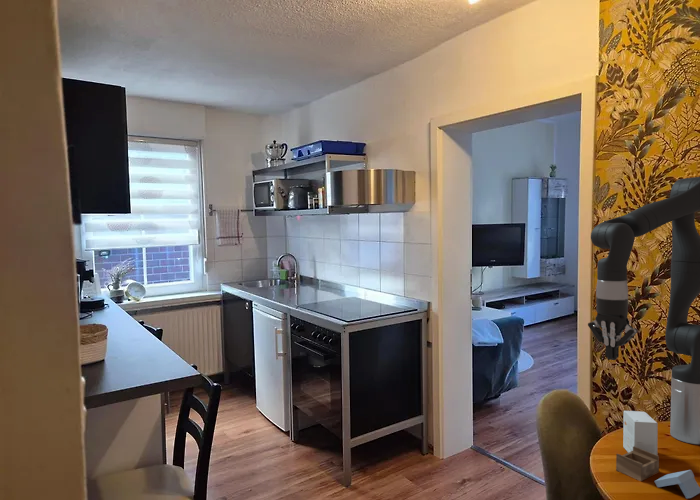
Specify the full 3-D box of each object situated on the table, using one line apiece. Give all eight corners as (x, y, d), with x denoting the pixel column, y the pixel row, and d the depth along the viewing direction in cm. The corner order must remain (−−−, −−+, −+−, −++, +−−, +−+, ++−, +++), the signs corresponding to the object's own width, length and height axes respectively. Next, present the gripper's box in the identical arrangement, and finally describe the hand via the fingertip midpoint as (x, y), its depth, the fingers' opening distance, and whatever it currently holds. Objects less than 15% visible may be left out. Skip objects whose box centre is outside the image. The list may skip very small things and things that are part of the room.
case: (633, 462, 122) (634, 446, 121) (658, 472, 116) (658, 455, 116) (616, 470, 118) (616, 454, 117) (640, 481, 112) (641, 464, 112)
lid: (690, 469, 109) (703, 490, 107) (667, 474, 114) (678, 494, 111) (677, 476, 106) (690, 498, 104) (654, 481, 110) (665, 502, 108)
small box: (657, 462, 121) (658, 423, 121) (633, 460, 122) (634, 421, 122) (644, 448, 129) (645, 411, 129) (622, 446, 130) (623, 409, 130)
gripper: (645, 297, 123) (644, 362, 124) (596, 292, 134) (596, 351, 135) (629, 301, 119) (629, 367, 120) (580, 295, 130) (581, 356, 131)
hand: (612, 359), depth 128 cm, fingers closed
